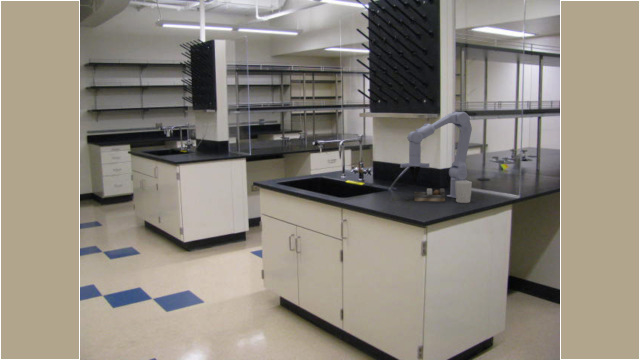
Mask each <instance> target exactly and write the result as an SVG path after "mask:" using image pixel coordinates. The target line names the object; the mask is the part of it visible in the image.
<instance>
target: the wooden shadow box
mask: <svg viewBox="0 0 640 360" xmlns="http://www.w3.org/2000/svg"><path fill="white" fill-rule="evenodd" d="M414 202H446V190H445V188H441V187H440V188H439V189H435V190H433V191H432V195H427V191H414Z"/></svg>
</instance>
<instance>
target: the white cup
mask: <svg viewBox="0 0 640 360" xmlns="http://www.w3.org/2000/svg"><path fill="white" fill-rule="evenodd" d="M472 183H473V182H472V181H469V180H468V181H456V182H455V188H456V198H455V202H457V203H460V204H468V203H471V198H472Z"/></svg>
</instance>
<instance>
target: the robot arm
mask: <svg viewBox="0 0 640 360" xmlns="http://www.w3.org/2000/svg"><path fill="white" fill-rule="evenodd" d="M448 124H453V125H454V126H456V127H457V129H458V130H459V131H460V132H459V136H458V141H457V147H456V152H455V156H454V157H455V158H454V160H453V162H452V163H451V167H450V168H449V169H448V175H449V177H450V192H449V193H450V194H447V195H446V197H449V198H454V199H456V188H455V182H456V181H469V179H468V180H467V179H466V178H467V177H468V171H467V170H468V165H467V164H466V160H467V155H468V151H469V145H470V141H471V137H472V136H471V135H472V130H473V129H472V127H473V126H472V124H471V116H470V115H469V114H468V112H465V111H452V112H451V113H448V114H447V115H445V116H442V117H441V118H440V119H438V120H437V121H435V122H433V123H432V124H431V123H424V124H423V126H421V127H420V128H415V131H414V130H413V131H410V132H409V133H408V135H407V140H408V142H409V143H408V145H409V147H408V155H409V156H408V158H409V159H408V163H403V162H402V163H400V166H399V168H403V169H404V168H409V171H410V173H411V174H410V175H411V176H412V177H411V178H412V181H413V183H417V178H418V175H419V173H420V170H421V168H428V169H430V163H426V162H422V163H421V160H422V159H421V157H422V156H421V152H422V150H421V148H422V147H421V146H422V145H421V144H422V141H423V140H424V139H427V138H428V137H429V136H432V135H433V134H435V131H436V130H438V129H440V128H441V127H444V126H446V125H448Z"/></svg>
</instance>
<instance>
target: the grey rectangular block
mask: <svg viewBox="0 0 640 360" xmlns="http://www.w3.org/2000/svg"><path fill="white" fill-rule="evenodd" d="M426 192H427V195H432V192H433V188H426Z"/></svg>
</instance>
